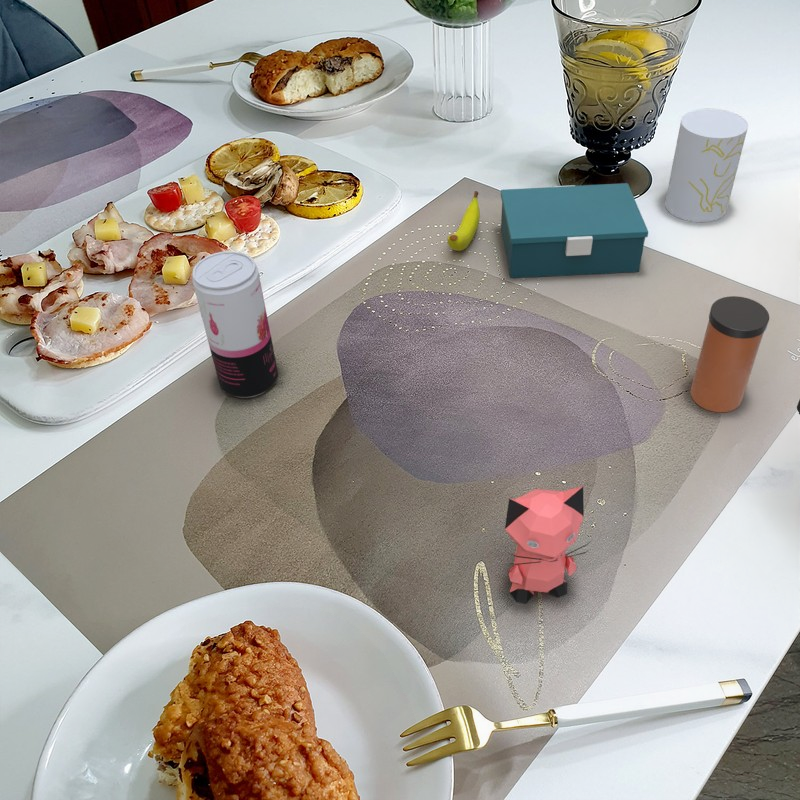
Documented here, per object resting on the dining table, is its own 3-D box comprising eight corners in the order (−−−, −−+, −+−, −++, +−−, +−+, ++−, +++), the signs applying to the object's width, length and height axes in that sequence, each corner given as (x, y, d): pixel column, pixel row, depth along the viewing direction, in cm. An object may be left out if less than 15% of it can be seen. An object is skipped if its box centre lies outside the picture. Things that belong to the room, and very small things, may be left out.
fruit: (469, 221, 117) (469, 188, 113) (483, 223, 116) (484, 190, 113) (444, 262, 110) (444, 228, 106) (460, 265, 109) (460, 231, 106)
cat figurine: (507, 622, 72) (513, 535, 64) (487, 556, 77) (491, 467, 68) (588, 607, 73) (605, 519, 64) (563, 543, 77) (576, 453, 69)
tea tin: (733, 376, 92) (758, 294, 85) (749, 412, 88) (777, 329, 81) (683, 379, 92) (704, 297, 85) (697, 414, 88) (720, 332, 81)
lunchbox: (620, 221, 115) (627, 181, 111) (642, 275, 106) (649, 233, 102) (498, 227, 115) (500, 187, 111) (509, 281, 106) (511, 241, 102)
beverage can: (290, 378, 95) (270, 266, 85) (243, 409, 92) (216, 297, 81) (254, 352, 99) (230, 242, 88) (207, 381, 95) (177, 270, 85)
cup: (690, 228, 113) (708, 143, 105) (652, 199, 118) (668, 117, 110) (739, 212, 115) (762, 128, 107) (700, 185, 121) (719, 103, 112)
